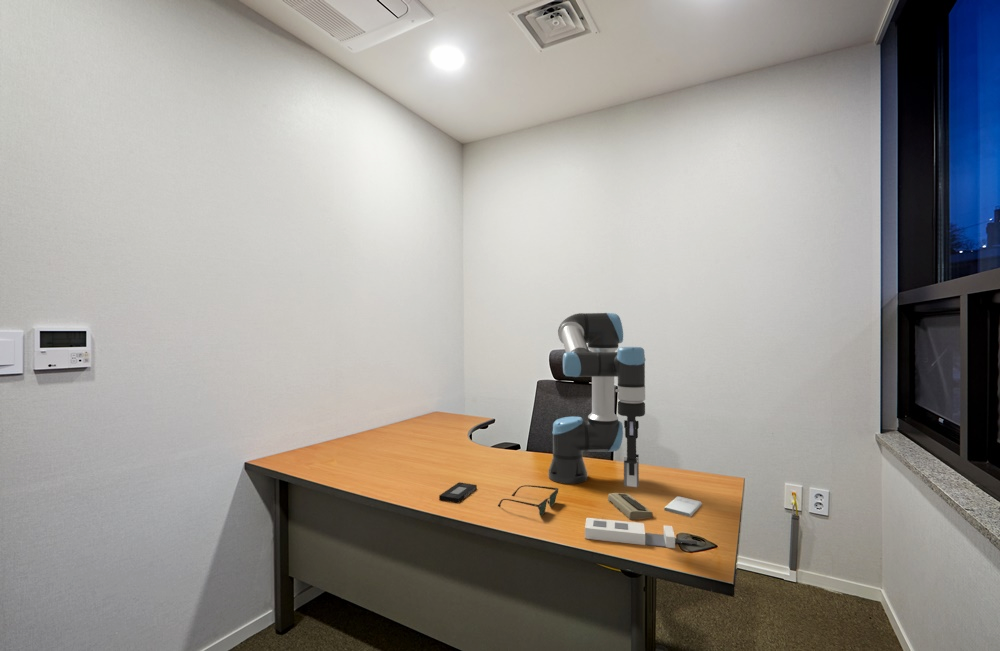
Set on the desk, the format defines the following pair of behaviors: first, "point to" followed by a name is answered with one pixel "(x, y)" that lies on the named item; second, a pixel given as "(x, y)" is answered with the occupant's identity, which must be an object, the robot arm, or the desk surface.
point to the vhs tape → (457, 492)
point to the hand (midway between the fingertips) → (631, 483)
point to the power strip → (630, 533)
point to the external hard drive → (683, 506)
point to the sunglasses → (543, 504)
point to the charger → (626, 472)
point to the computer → (629, 506)
